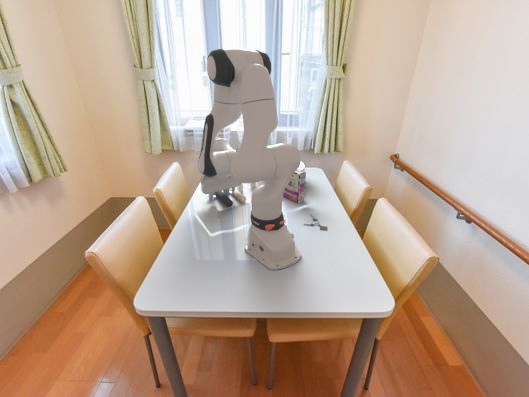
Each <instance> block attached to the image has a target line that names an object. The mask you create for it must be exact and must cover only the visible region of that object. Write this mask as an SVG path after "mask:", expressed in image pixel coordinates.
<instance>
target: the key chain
mask: <svg viewBox="0 0 529 397" xmlns="http://www.w3.org/2000/svg"><path fill="white" fill-rule="evenodd" d="M310 217H312V222H315V223H304V224H303V226H304V225H305V226H310V227H314V226H316V227H319V231H325V232H328V230H329V229H328V226H327V225H326V226H324V225H321V224H320V222H319V220H318V219H317V218H315V217H314V216H313V214H310Z"/></svg>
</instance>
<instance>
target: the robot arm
mask: <svg viewBox="0 0 529 397" xmlns="http://www.w3.org/2000/svg"><path fill="white" fill-rule="evenodd" d="M206 71H207V76H208V78H209V80H210V81H211V82H212V83H213V84H214V85H213V105H212V107H211V111H210V113H208V115H206V117H205V119H204V124H203V132H202V140H201V147H200V153H199V156H198V169H199V173H201V174H202V176H201V177H200V184H201V185H200V186H201V189H200V190H201V192H202V194H204V195H209V194H210V195H211V196H212V200H216V196H213V195H212V194H214V192H218V191H222V192H223V190H226V189H230V188H232V190H231V191H230V195H231V196H232V195H234V191H235V189H236V188H237V187H238V186H241V184H250V183H256V182H260V181H261V182H260V184H259V185H256V188H255V189H254V190H253V192H252V196H251V201H252V202H251V210H250V222H251V224H250V226H249V229H248V232H247V244H246V245H245V247H244V251H245V252H246V253H247V254H248V255H250V256H251V257H252V258H254V259H255V260H257V261H258V262H260V264H262V265H264V267H266V268H267V269H269V271H270V270H271V271H276V270H282V269H285V268H288V267H291V266H292V265H295V263H298V262H299V261H300V259H301V258H302V253H301V251H300V250H299V249H298V248H297V247H296V243H295V239H294V238H295V234H294V233H293V232H290V231H289V229H288V225H286V224H285V223H286V219H284V217H285V216H284V212H283V210H282V207H283V198H284V196H283V193H284V190H285V187H286V185H287V182H288V180H289V179H290V177H291V175H292V174H293V173H294V172H295V171H296V170H297V169H298V168H299V166H300V163H301V162H302V156H301V152H300V150H299V149H298V147H297V146H296V145H294V144H293V143H281V142H280V143H276V144H271V145H268V141H269V137H270V135H271V134H272V133H273V132H275V130H276V129H277V127H278V124H279V119H278V117H279V116H278V110H277V104H276V95H275V90H274V84H273V82H272V78H271V74H272V62H271V59H270V56H269V55H268V54H267V52H264V51H263V50H259V49H256V50H253V49H252V50H251V49H246V48H245V49H244V48H237V47H236V48H226V49H223V48H218V49H217V48H216V49H214V50H212V51H210V53H209V54H208V56H207V58H206ZM241 117H242V122H243V135H242V139H241V140H242V141H241V143H240V146H239V148H238V149H237V150H236V149H234V148H233V147H232V146H230V144H229V140H228V139H227V138H225V137H217V136H218V134H219V133H220V132H221V131H222V130H224V129H225V128H228V126H232V125H233V124H234V123H236V122H237V121H238V120H239V119H240V118H241ZM216 137H217V138H216Z"/></svg>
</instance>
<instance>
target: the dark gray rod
mask: <svg viewBox="0 0 529 397" xmlns="http://www.w3.org/2000/svg"><path fill="white" fill-rule="evenodd" d="M215 195H216V196H217V197H218V198H219V199H220V200H221V201H222V202H223V203H224V204H225V205H226V206H227V207H230V206H232V204H233V201H232V200H231V199H230V198H229V197H227V196H226V195H225V194H224V193H223V190H222V191H218V192H215Z"/></svg>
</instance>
